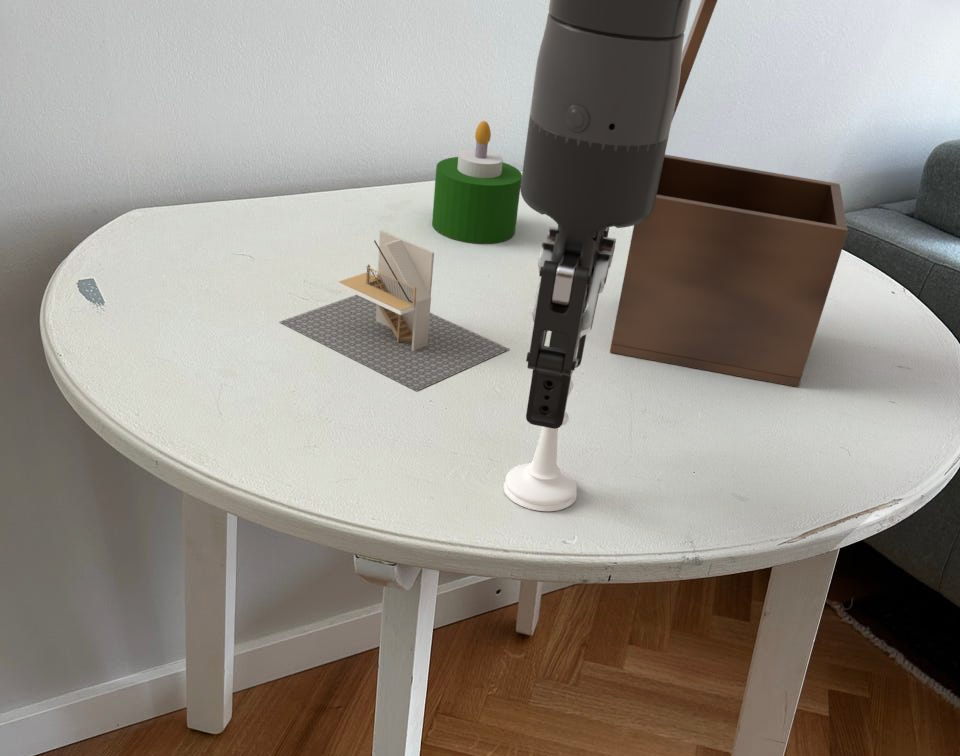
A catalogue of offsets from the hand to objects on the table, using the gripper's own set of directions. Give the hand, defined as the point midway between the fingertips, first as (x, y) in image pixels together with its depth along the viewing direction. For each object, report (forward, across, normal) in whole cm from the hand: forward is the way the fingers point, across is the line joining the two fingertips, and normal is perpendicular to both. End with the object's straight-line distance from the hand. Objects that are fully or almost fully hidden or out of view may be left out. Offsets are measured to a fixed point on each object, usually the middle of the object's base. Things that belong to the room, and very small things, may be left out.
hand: (554, 392), depth 70 cm
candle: (+7, +46, +14) cm, 49 cm away
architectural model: (+8, +19, +15) cm, 25 cm away
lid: (-14, +29, -4) cm, 32 cm away
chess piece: (+8, 0, 0) cm, 8 cm away
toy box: (+7, +29, -10) cm, 32 cm away
